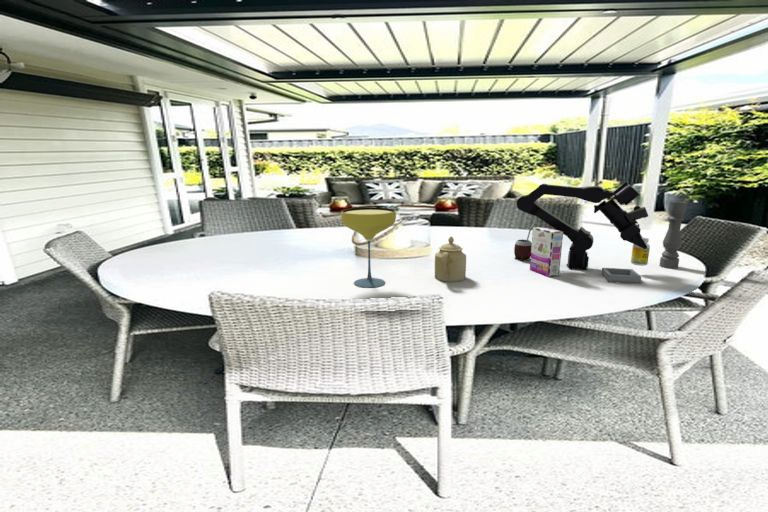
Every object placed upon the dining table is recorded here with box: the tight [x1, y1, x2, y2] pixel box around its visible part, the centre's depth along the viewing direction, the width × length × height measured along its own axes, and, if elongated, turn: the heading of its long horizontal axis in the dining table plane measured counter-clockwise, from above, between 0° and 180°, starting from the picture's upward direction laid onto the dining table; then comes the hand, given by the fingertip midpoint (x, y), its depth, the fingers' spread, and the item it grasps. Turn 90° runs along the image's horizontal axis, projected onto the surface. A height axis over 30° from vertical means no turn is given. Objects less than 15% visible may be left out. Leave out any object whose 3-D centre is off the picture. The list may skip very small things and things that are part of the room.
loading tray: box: [600, 267, 642, 285], centre depth 155 cm, size 10×10×2 cm
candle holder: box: [659, 200, 688, 270], centre depth 168 cm, size 6×6×25 cm
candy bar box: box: [529, 226, 564, 278], centre depth 161 cm, size 11×5×16 cm, turn 19°
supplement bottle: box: [630, 236, 651, 266], centre depth 159 cm, size 5×5×10 cm
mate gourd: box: [513, 222, 536, 262], centre depth 182 cm, size 8×8×15 cm
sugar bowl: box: [434, 235, 467, 283], centre depth 154 cm, size 15×11×15 cm
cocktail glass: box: [340, 206, 397, 289], centre depth 149 cm, size 18×18×25 cm
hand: (645, 246), depth 158 cm, fingers closed on supplement bottle, 5 cm apart
